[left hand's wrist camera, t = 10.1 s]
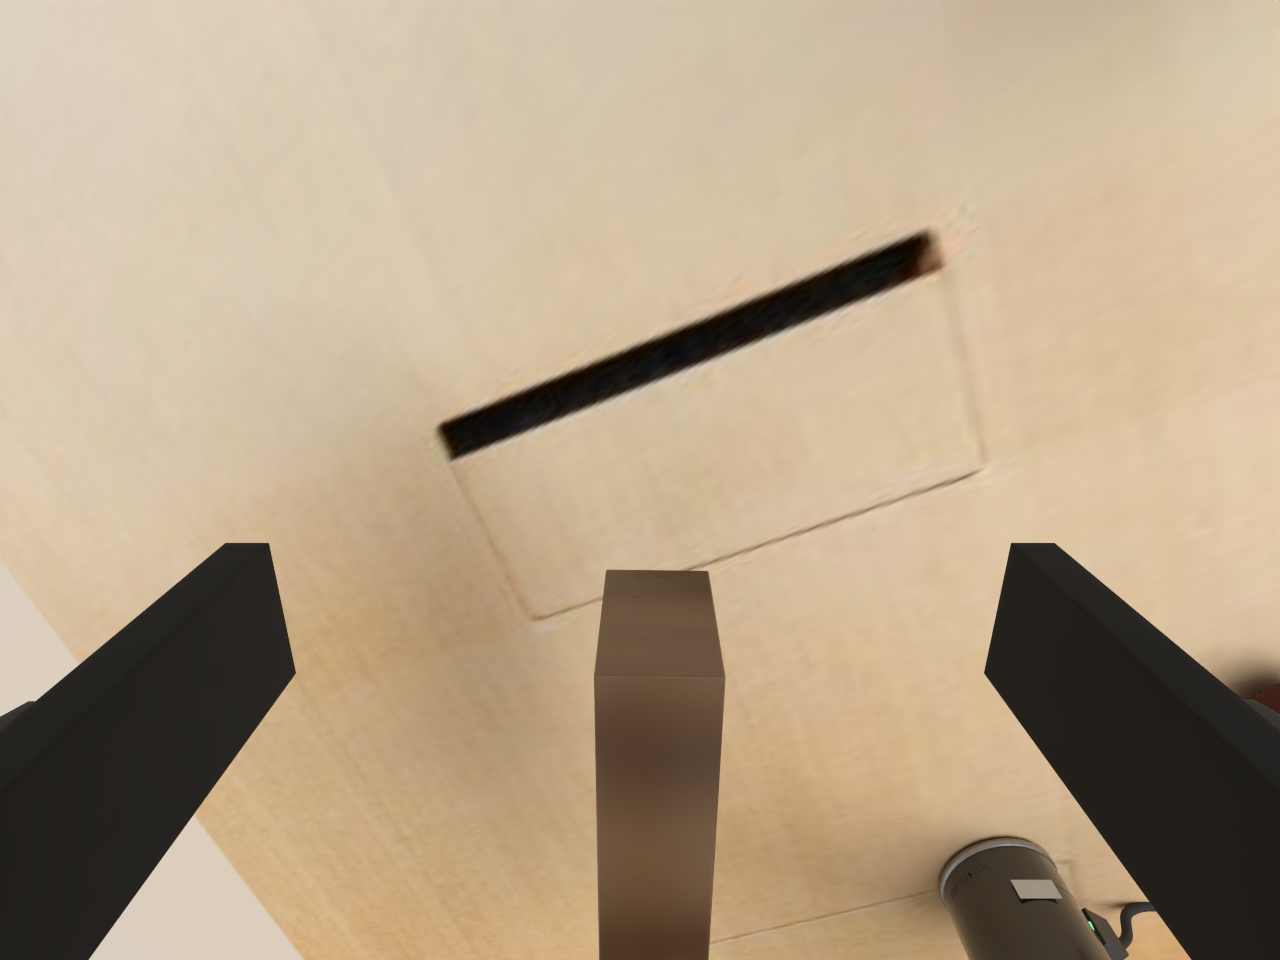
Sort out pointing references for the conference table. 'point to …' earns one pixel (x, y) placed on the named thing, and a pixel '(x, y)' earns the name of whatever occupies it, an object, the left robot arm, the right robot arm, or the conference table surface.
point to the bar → (657, 763)
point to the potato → (1270, 697)
